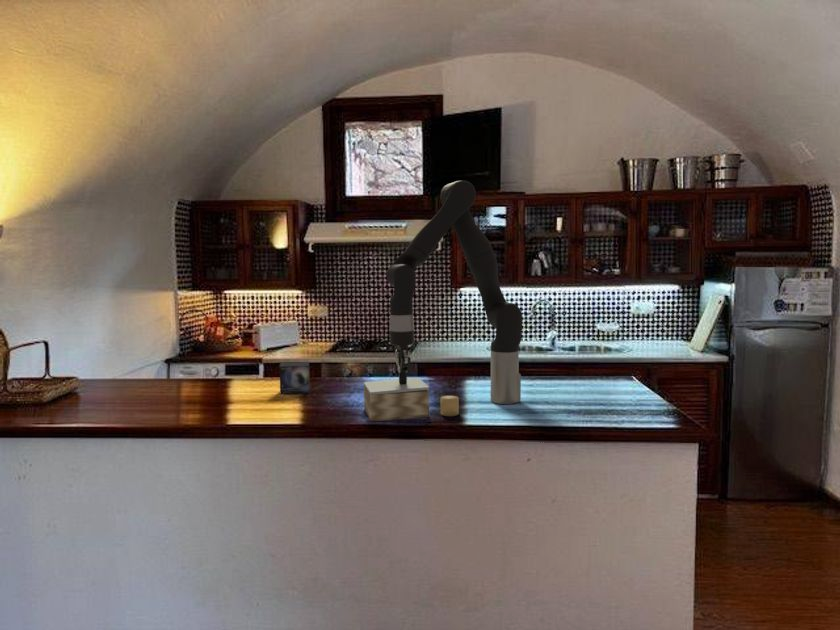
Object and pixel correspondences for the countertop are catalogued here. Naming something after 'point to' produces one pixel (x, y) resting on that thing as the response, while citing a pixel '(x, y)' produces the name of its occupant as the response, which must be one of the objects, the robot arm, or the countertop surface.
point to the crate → (396, 405)
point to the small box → (294, 378)
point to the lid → (395, 386)
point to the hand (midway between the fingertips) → (402, 383)
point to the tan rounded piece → (449, 405)
